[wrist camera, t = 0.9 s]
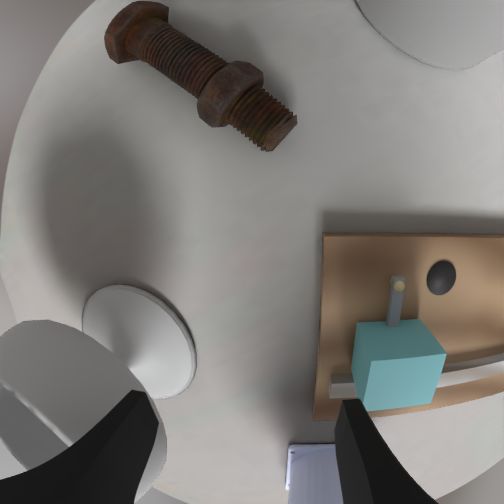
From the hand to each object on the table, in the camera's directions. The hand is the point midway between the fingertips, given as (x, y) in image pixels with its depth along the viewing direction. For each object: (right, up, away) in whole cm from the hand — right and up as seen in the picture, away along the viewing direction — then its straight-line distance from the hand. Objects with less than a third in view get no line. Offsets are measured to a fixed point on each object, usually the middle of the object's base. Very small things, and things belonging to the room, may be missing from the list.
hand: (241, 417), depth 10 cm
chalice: (-10, -3, +16) cm, 19 cm away
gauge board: (+17, 0, +11) cm, 20 cm away
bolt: (-3, +19, +10) cm, 21 cm away
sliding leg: (+10, +1, +10) cm, 14 cm away
